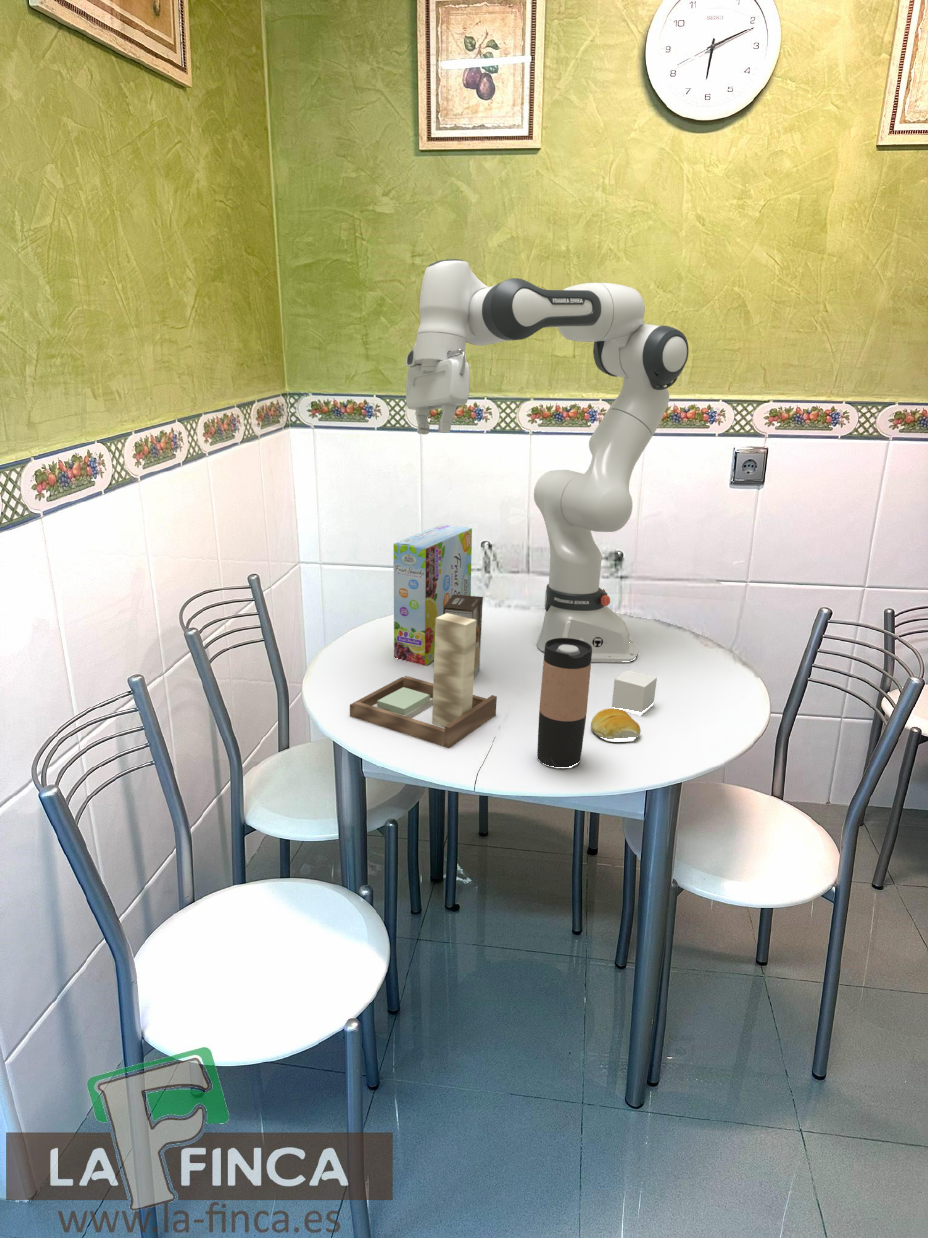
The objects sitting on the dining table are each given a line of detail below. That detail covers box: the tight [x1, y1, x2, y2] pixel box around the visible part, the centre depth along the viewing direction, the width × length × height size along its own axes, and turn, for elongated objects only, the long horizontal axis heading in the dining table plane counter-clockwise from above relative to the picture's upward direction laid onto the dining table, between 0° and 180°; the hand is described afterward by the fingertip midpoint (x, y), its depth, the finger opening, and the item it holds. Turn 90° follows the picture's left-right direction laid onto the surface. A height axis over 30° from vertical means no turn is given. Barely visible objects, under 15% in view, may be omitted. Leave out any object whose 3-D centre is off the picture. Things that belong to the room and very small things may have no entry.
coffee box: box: [443, 594, 484, 680], centre depth 169 cm, size 9×6×16 cm
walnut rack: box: [349, 675, 498, 749], centre depth 152 cm, size 21×16×4 cm
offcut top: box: [377, 687, 430, 715], centre depth 154 cm, size 6×8×1 cm
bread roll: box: [590, 708, 641, 739], centre depth 150 cm, size 8×9×4 cm
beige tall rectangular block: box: [431, 613, 477, 728], centre depth 147 cm, size 6×4×20 cm, turn 59°
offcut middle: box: [373, 698, 433, 719], centre depth 155 cm, size 7×10×1 cm
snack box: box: [393, 523, 473, 667], centre depth 183 cm, size 22×9×26 cm, turn 154°
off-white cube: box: [611, 669, 658, 712], centre depth 160 cm, size 6×6×6 cm
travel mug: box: [536, 638, 592, 767], centre depth 137 cm, size 8×8×20 cm
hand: (433, 433), depth 153 cm, fingers open, 8 cm apart
